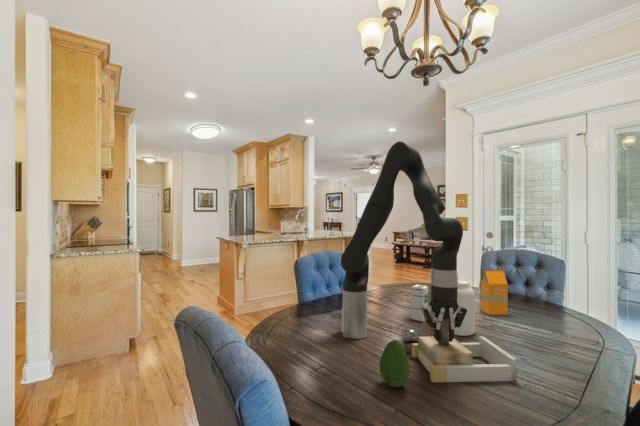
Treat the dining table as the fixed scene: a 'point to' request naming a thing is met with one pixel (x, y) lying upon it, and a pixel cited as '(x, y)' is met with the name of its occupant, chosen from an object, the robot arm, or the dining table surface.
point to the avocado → (394, 364)
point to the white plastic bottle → (468, 302)
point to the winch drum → (409, 339)
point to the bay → (476, 365)
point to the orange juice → (494, 293)
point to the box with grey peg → (443, 349)
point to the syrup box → (418, 301)
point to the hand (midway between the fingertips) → (443, 340)
